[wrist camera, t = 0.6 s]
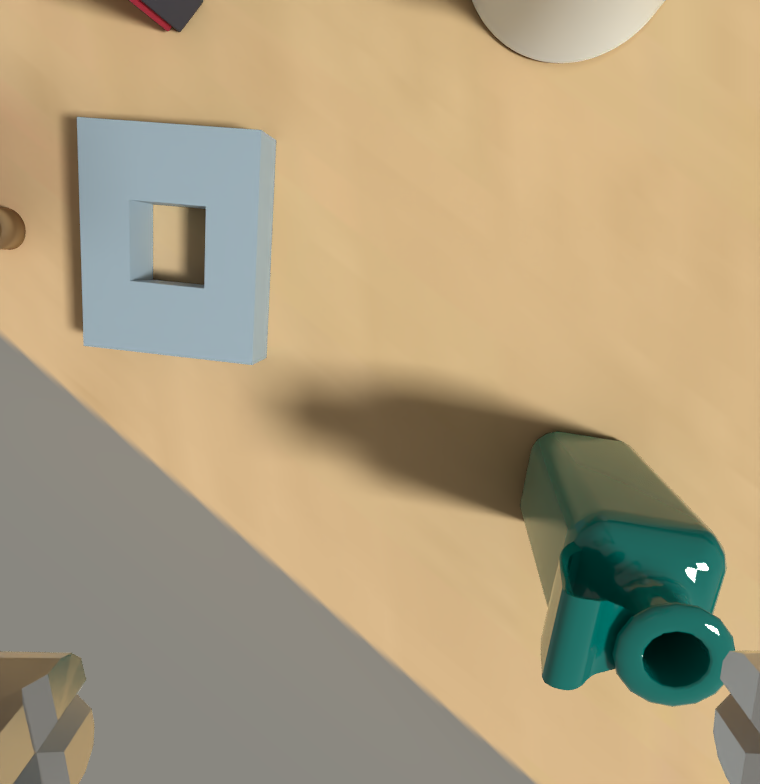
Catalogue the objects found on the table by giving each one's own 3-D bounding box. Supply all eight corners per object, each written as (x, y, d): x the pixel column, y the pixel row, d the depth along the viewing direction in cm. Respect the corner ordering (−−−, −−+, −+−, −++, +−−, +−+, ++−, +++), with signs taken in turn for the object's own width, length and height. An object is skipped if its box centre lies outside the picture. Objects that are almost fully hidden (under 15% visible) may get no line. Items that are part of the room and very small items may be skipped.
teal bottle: (641, 442, 46) (806, 600, 24) (618, 538, 48) (751, 762, 26) (518, 423, 47) (573, 559, 25) (499, 518, 49) (536, 718, 27)
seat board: (104, 127, 45) (76, 116, 42) (276, 140, 44) (261, 130, 41) (109, 339, 49) (83, 345, 46) (266, 357, 48) (252, 364, 45)
